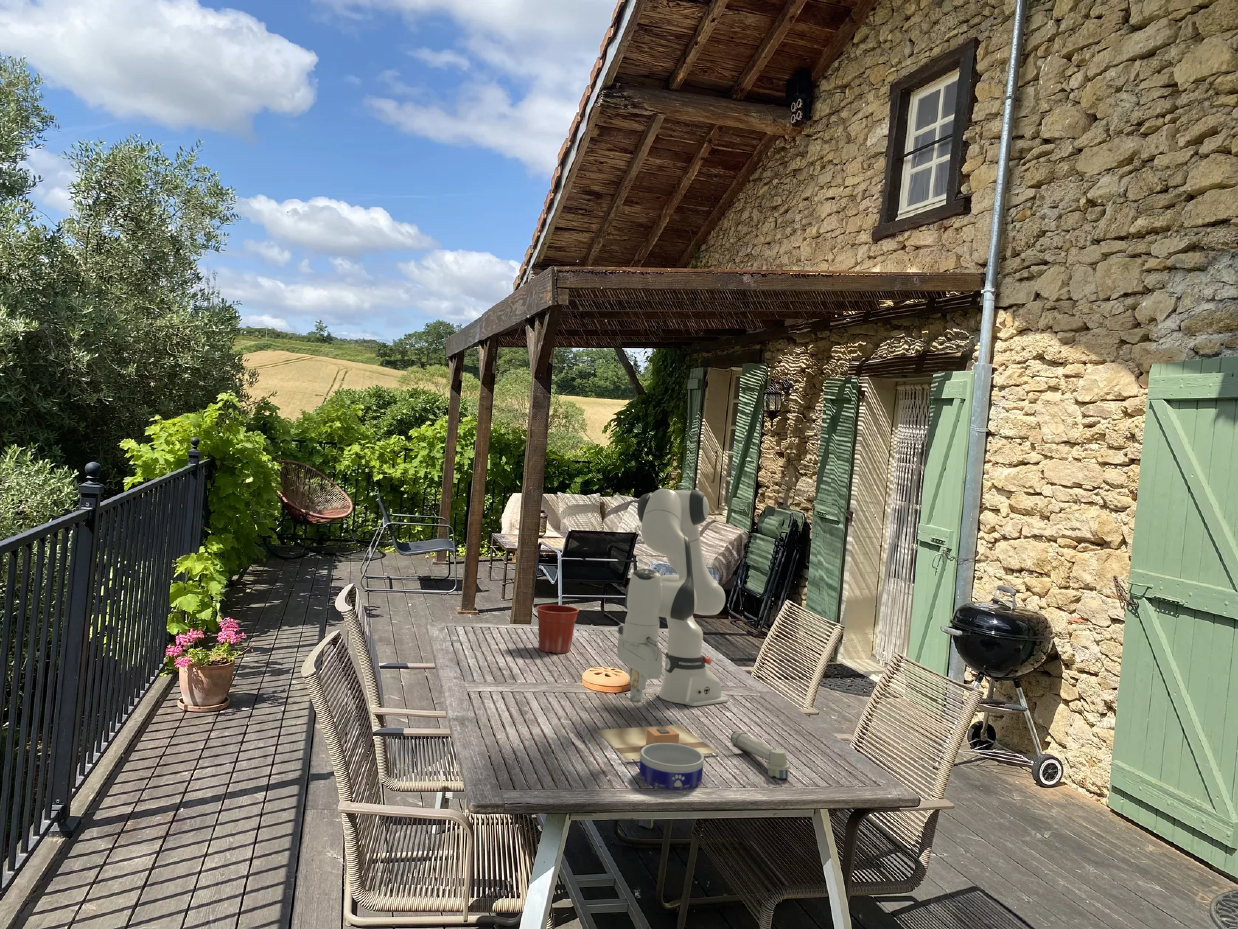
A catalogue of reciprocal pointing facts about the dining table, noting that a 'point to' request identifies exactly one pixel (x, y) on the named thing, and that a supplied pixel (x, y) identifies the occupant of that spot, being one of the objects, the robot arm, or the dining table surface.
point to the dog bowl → (671, 766)
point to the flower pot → (556, 627)
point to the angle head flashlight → (763, 753)
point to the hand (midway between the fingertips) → (637, 687)
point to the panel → (635, 740)
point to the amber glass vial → (635, 688)
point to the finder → (662, 736)
